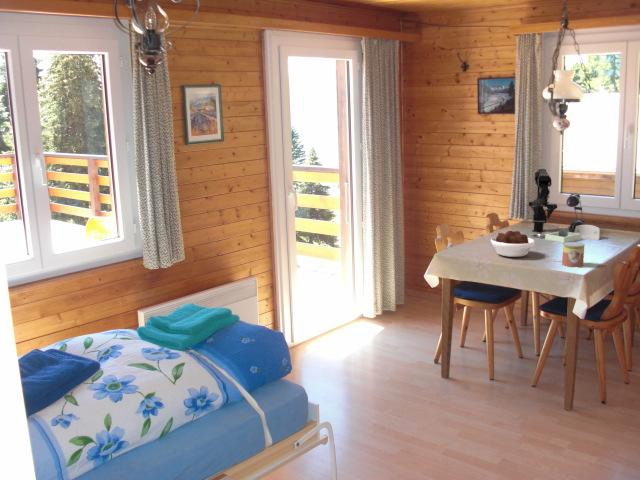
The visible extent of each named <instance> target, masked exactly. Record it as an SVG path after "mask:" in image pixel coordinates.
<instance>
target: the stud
mask: <svg viewBox="0 0 640 480" xmlns="http://www.w3.org/2000/svg"><path fill="white" fill-rule="evenodd" d="M545 236H546V234H545V233H544V232H536V234H532V235H530V238H531V237H532V238H536V239H545Z"/></svg>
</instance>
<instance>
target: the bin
mask: <svg viewBox="0 0 640 480" xmlns="http://www.w3.org/2000/svg"><path fill="white" fill-rule="evenodd" d="M545 235H546V236H545V238H544V239H545V240H544V241H546V242H553V243H557V244H563V243H565V242H578V241H581V240H582V239H581V234H579V233H574V232H571V231H568V236H566V237H561V236H559V231H556V232H555V231H554V232H551V233H546V234H545Z"/></svg>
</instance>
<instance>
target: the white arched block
mask: <svg viewBox="0 0 640 480" xmlns="http://www.w3.org/2000/svg"><path fill="white" fill-rule="evenodd" d="M573 233H579V234H581V240H590V241H591V240H592V241H599V240H601V229H600V227H598V226H596V225H593V224H580V225H576V226H575V229H574V232H573Z"/></svg>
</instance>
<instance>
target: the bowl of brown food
mask: <svg viewBox="0 0 640 480" xmlns="http://www.w3.org/2000/svg"><path fill="white" fill-rule="evenodd" d="M490 243H491V245H492V246H493V248H494V249H495V252H496V253H497V254H498V255H500V256H504V257H508V258H518V257H524V256H525V257H526V255H528V254H529V252H530V250H531V249H532V248H533V247H534V245H535V244H536V243H535V239H533V238H531V237H528V235H526V234H522V233H521V232H520V231H519V230H516V231H515V230H513V231H512V230H507V231H506V232H505V233H503V232H499V233H497V236H494V237H492V238H490Z"/></svg>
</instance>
